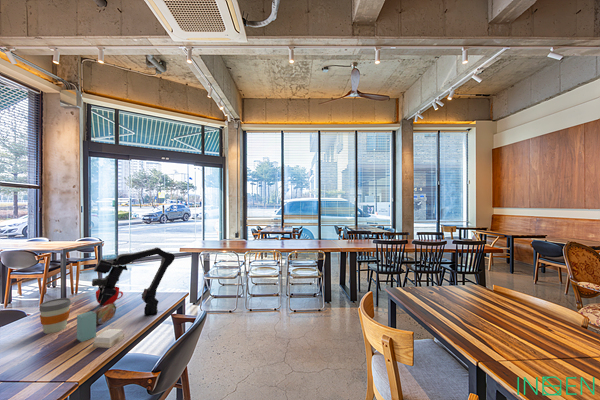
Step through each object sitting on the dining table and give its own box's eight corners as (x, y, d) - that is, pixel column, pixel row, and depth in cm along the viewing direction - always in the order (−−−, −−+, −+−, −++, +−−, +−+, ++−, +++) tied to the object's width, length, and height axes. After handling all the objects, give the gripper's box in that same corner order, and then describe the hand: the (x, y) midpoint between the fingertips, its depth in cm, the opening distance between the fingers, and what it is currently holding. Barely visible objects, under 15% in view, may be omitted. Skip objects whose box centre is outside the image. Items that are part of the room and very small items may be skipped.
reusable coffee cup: (42, 337, 131) (43, 308, 131) (35, 331, 138) (36, 303, 138) (74, 327, 142) (74, 300, 142) (66, 322, 148) (66, 296, 149)
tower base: (108, 338, 132) (108, 333, 132) (124, 339, 131) (124, 334, 131) (92, 348, 123) (92, 342, 123) (109, 348, 122) (110, 343, 122)
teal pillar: (90, 333, 135) (91, 311, 136) (95, 336, 132) (96, 313, 133) (76, 338, 130) (77, 315, 130) (81, 341, 127) (82, 317, 127)
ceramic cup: (115, 308, 168) (115, 293, 168) (90, 308, 168) (90, 293, 168) (129, 300, 181) (129, 286, 181) (105, 300, 181) (105, 286, 181)
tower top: (107, 334, 131) (107, 329, 131) (122, 334, 131) (122, 329, 131) (94, 342, 123) (94, 337, 123) (109, 343, 123) (109, 337, 123)
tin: (98, 326, 143) (98, 311, 143) (92, 326, 143) (92, 311, 143) (116, 315, 158) (116, 301, 158) (111, 315, 158) (111, 301, 158)
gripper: (96, 269, 149) (81, 296, 144) (100, 275, 135) (83, 305, 130) (117, 273, 156) (103, 299, 151) (122, 280, 142) (108, 309, 137)
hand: (99, 303), depth 142 cm, fingers open, 9 cm apart
